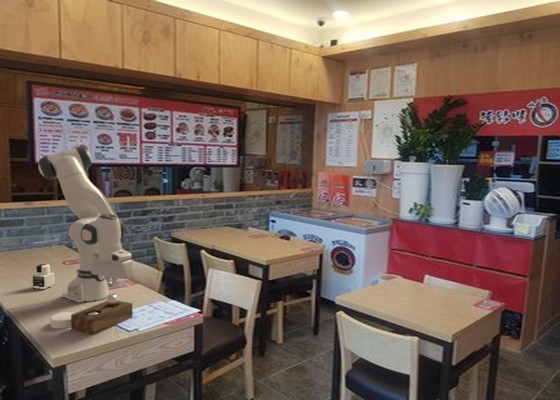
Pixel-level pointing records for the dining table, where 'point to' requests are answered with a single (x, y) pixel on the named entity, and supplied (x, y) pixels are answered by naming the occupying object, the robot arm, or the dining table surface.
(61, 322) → the coaster
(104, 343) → the dining table surface
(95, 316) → the walnut block
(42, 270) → the medicine bottle
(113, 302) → the steel peg
